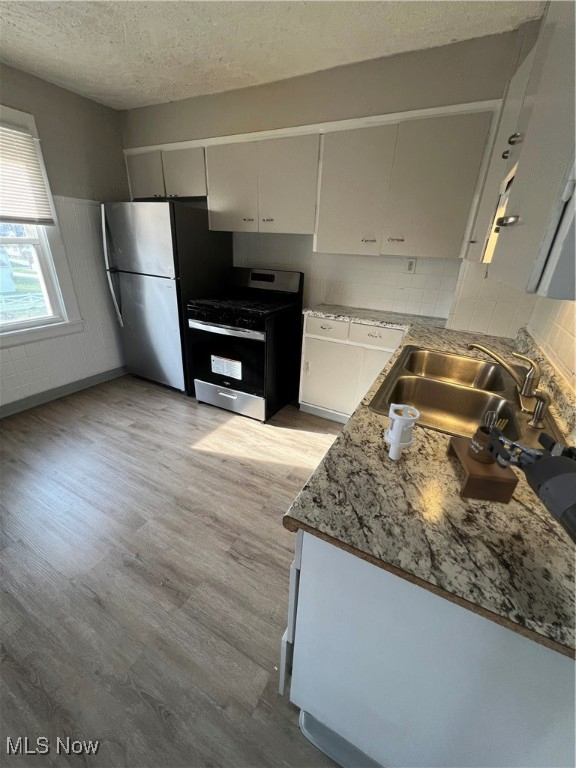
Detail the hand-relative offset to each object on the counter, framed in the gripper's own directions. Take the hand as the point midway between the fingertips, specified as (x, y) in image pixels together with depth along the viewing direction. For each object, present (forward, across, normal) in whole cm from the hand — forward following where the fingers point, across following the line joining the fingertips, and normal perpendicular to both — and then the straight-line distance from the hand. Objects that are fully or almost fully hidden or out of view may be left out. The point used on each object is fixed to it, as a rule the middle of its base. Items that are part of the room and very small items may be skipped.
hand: (517, 433), depth 61 cm
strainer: (+13, +18, +19) cm, 29 cm away
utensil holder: (+8, 0, +12) cm, 15 cm away
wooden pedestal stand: (+8, 0, +19) cm, 21 cm away
